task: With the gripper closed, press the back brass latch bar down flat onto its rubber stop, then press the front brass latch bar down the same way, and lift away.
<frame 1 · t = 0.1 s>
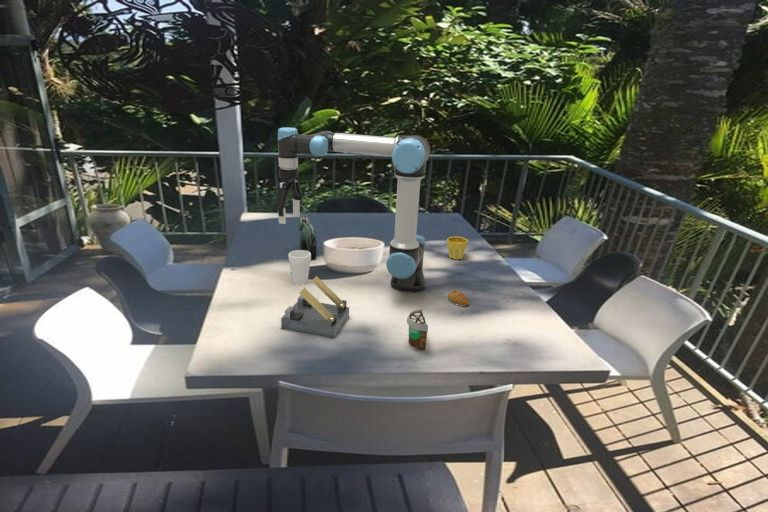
hand: (289, 219, 200), 28 cm above the table, tool pointing down, fingers open, 13 cm apart
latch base: (316, 322, 177), on the table
iced coffee cup: (414, 343, 167), on the table
foam cup: (300, 282, 210), on the table
ceramic cat: (308, 254, 242), on the table
plant pot: (455, 258, 246), on the table
pastry: (458, 302, 200), on the table
latch bar front: (317, 305, 168), point 10 cm above the table, hinge at 40.0°
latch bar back: (328, 292, 178), point 10 cm above the table, hinge at 40.0°
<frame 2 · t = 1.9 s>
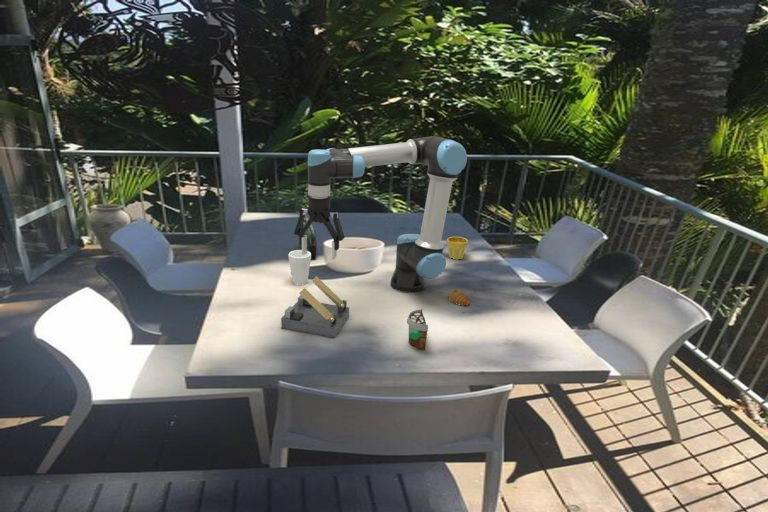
hand: (319, 255, 174), 24 cm above the table, tool pointing down, fingers open, 11 cm apart
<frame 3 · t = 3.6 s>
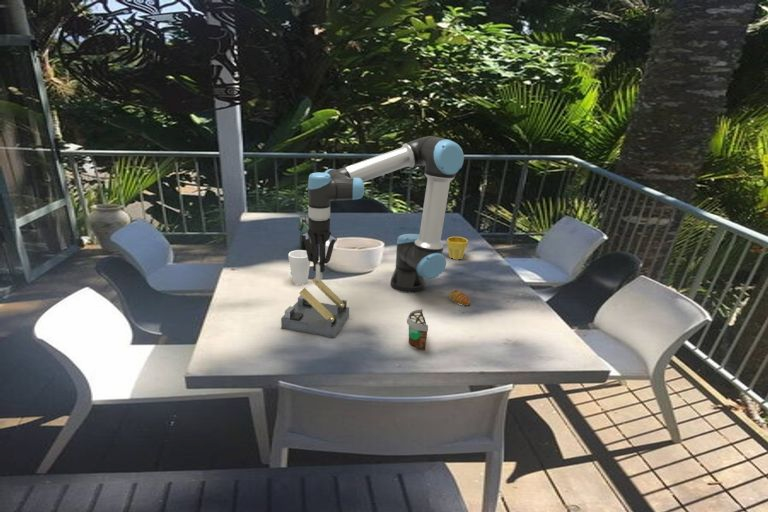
hand: (319, 279, 177), 15 cm above the table, tool pointing down, fingers closed
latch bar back: (328, 292, 178), point 10 cm above the table, hinge at 40.0°, touching gripper
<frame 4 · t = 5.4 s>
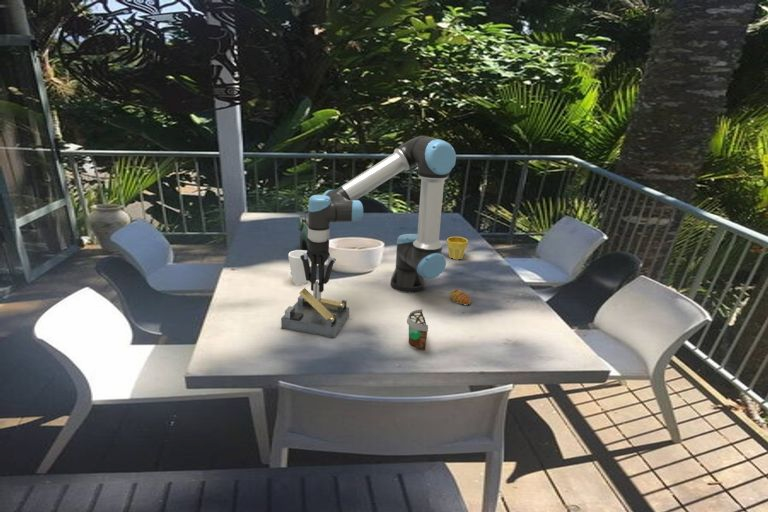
hand: (317, 298, 180), 7 cm above the table, tool pointing down, fingers closed, pressing on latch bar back
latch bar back: (324, 302, 180), point 6 cm above the table, hinge at 3.1°, touching gripper
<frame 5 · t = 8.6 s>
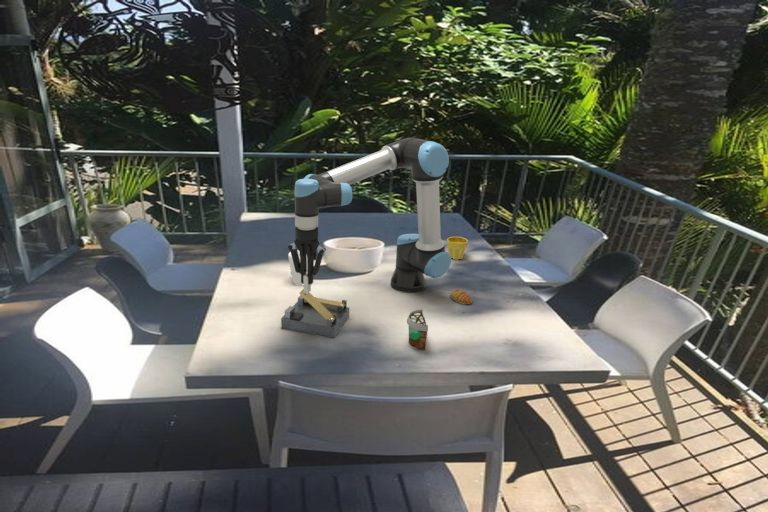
hand: (307, 291, 167), 15 cm above the table, tool pointing down, fingers closed
latch bar front: (317, 305, 168), point 10 cm above the table, hinge at 40.0°, touching gripper
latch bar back: (324, 302, 180), point 6 cm above the table, hinge at 1.8°
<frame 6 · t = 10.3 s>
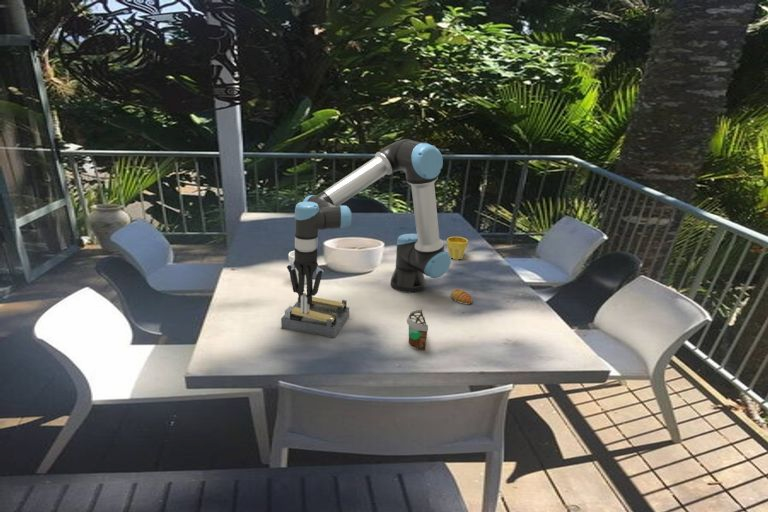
hand: (305, 311, 170), 7 cm above the table, tool pointing down, fingers closed, pressing on latch bar front
latch bar front: (313, 315, 170), point 6 cm above the table, hinge at 4.2°, touching gripper
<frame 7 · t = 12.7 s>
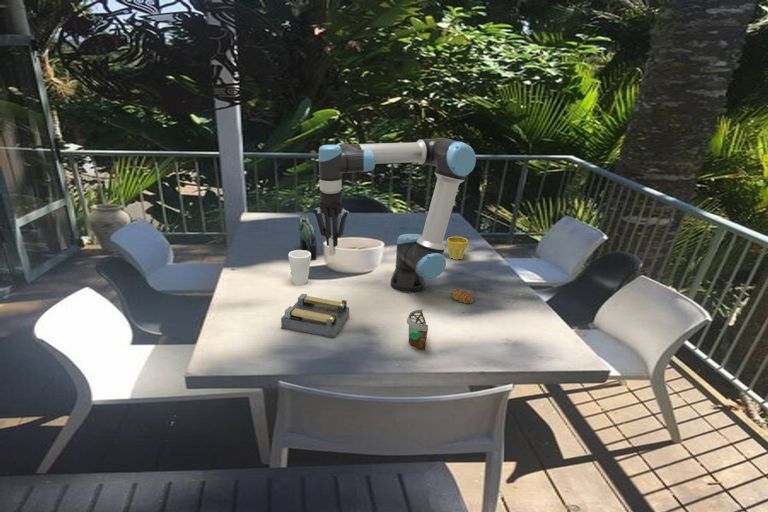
hand: (332, 254, 176), 24 cm above the table, tool pointing down, fingers closed
latch bar front: (313, 315, 170), point 6 cm above the table, hinge at 1.9°
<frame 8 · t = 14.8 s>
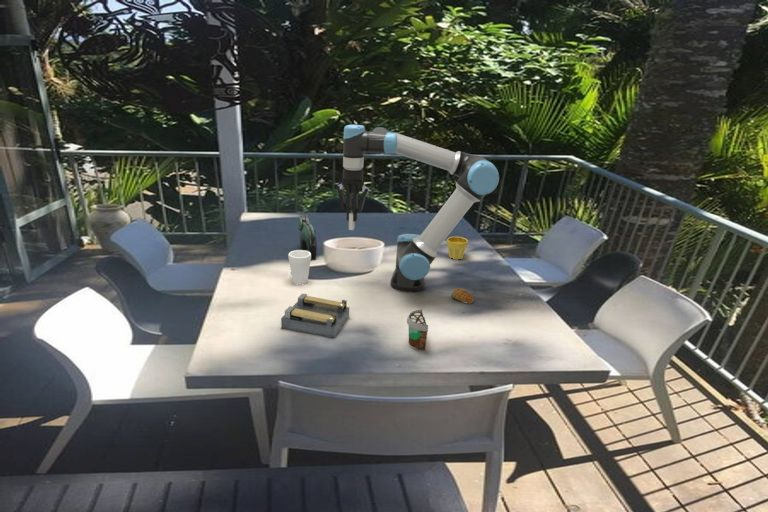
hand: (351, 228, 187), 29 cm above the table, tool pointing down, fingers closed
at the end: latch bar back at +2° (first picture: +40°); latch bar front at +2° (first picture: +40°) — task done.
